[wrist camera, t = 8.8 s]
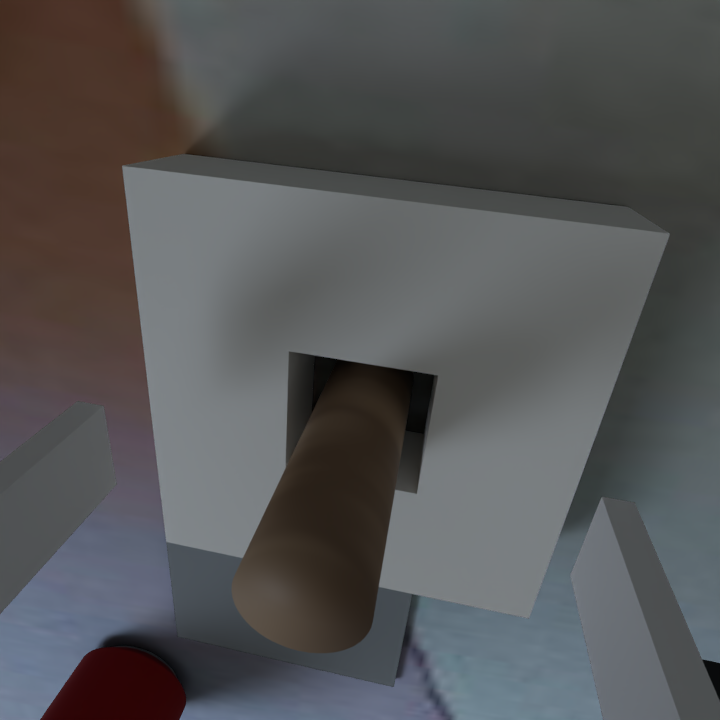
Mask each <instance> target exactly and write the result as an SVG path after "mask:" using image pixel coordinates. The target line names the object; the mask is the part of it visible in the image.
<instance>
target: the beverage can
mask: <svg viewBox="0 0 720 720" xmlns="http://www.w3.org/2000/svg"><path fill="white" fill-rule="evenodd" d="M185 704H186V695H185V692H184V689H183V687H182V685H181V683H180V682H179V680H178V679H177V676H176V674H175V672H174V671H173V669H172V668H171V667H170V666H169V665H168V664H167V663H166V662H165V661H164V660H162V659H161V658H160V657H158V656H156V655H155V654H153V653H151V652H149V651H146V650H144V649H141V648H137V647H133V646H115V647H104V648H98V649H95V650H93V651H91V652H89V653H88V654H86V655H85V656H84V657H83V659H82V660H81V662H80V663H79V665H78V666H77V667H76V669H75V670H74V672H73V673H72V675H71V676H70V677H69V679H68V680H67V682H66V683H65V685H64V686H63V687H62V689H61V690H60V692H59V693H58V695H57V696H56V698H55V699H54V700H53V702H52V703H51V705H50V706H49V708H48V709H47V711H46V712H45V713H44V715H43V716H42V718H41V719H40V720H179V719H180V717H181V715H182V712H183V710H184V708H185Z"/></svg>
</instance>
